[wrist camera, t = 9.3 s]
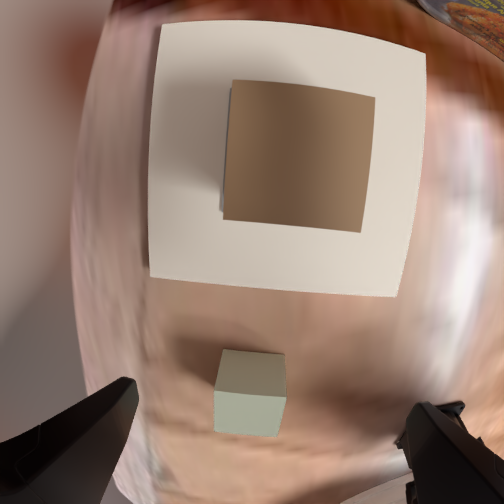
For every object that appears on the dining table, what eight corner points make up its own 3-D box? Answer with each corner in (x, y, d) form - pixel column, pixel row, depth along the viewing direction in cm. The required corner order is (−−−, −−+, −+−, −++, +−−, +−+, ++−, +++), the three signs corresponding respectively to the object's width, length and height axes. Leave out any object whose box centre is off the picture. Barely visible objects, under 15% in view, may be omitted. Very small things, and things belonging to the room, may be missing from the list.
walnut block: (344, 112, 14) (375, 97, 10) (334, 209, 16) (360, 232, 11) (243, 101, 15) (232, 79, 10) (236, 199, 16) (222, 219, 12)
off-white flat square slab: (418, 57, 14) (426, 53, 13) (390, 290, 19) (397, 298, 18) (167, 29, 14) (161, 23, 13) (155, 270, 19) (149, 278, 18)
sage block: (284, 353, 21) (286, 397, 17) (276, 395, 23) (277, 437, 18) (223, 348, 21) (213, 390, 17) (222, 390, 23) (214, 431, 18)
